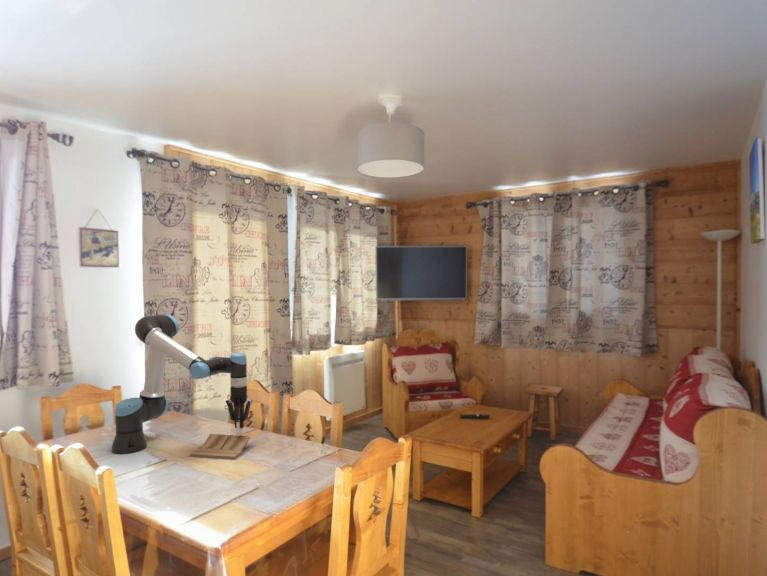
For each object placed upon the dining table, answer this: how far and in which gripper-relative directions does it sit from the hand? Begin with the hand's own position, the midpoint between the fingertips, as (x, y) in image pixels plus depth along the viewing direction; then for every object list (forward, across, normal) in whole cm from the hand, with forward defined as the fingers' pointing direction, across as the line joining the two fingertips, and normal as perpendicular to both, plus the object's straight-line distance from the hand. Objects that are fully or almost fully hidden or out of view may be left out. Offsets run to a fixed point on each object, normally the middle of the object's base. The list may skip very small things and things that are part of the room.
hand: (239, 434), depth 232 cm
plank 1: (+4, -11, -3) cm, 12 cm away
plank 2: (+4, 0, -3) cm, 5 cm away
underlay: (+7, -5, -6) cm, 11 cm away
